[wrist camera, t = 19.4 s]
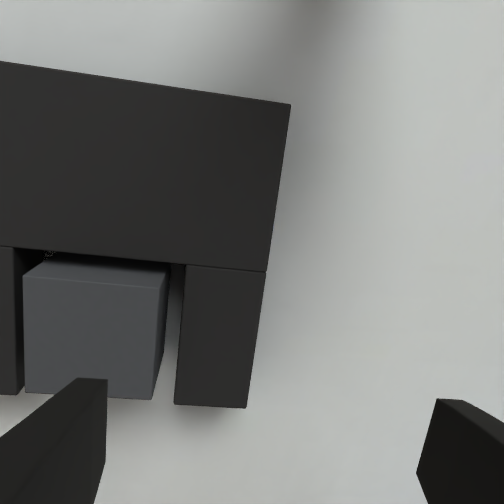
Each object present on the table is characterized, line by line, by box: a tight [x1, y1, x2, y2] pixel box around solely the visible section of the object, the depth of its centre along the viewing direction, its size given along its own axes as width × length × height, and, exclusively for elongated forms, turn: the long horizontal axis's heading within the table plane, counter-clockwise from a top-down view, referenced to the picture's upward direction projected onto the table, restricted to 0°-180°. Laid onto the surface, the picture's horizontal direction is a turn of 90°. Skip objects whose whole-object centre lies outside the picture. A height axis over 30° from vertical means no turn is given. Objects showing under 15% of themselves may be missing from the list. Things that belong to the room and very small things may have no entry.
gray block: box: [23, 252, 171, 400], centre depth 16 cm, size 4×4×4 cm
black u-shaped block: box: [0, 61, 291, 409], centre depth 15 cm, size 12×12×2 cm
